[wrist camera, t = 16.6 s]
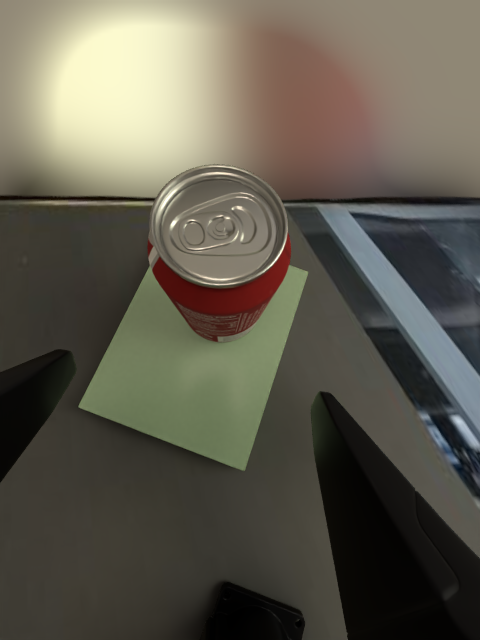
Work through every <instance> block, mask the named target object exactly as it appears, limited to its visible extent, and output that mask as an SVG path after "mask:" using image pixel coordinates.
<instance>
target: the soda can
mask: <svg viewBox="0 0 480 640" xmlns="http://www.w3.org/2000/svg"><path fill="white" fill-rule="evenodd" d="M290 257H291V244H290V238H289V234H288V220H287V214H286V211H285V208H284V205H283V203H282V201H281V199H280V198H279V196H278V195H277V193H276V192H275V191H274V190H273V188H272V187H271V186H270V185H269V184H268V183H266V182H265V181H264V180H263V179H261V178H260V177H258V176H257V175H255V174H254V173H251V172H249V171H247V170H245V169H242V168H239V167H235V166H230V165H219V164H213V165H204V166H199V167H195V168H192V169H189V170H187V171H185V172H183V173H181V174H179V175H177V176H176V177H174V178H173V179H172V180H170V181H169V182H168V183H167V184H166V185H165V186H164V187H163V188H162V190H161V191H160V193H159V194H158V196H157V197H156V199H155V201H154V203H153V206H152V209H151V214H150V233H149V238H148V258H149V263H150V267H151V269H152V272H153V274H154V276H155V278H156V280H157V282H158V283H159V285H160V286H161V287H162V289H163V290H164V292H165V293H166V294H167V296H168V297H169V299H170V300H171V301H172V303H173V304H174V305H175V307H176V308H177V310H178V311H179V312H180V314H181V315H182V316H183V318H184V319H185V321H186V322H187V323H188V325H189V326H190V327H191V329H192V330H193V331H194V332H195V333H197V334H198V335H199V336H201V337H203V338H204V339H207V340H210V341H213V342H230V341H234V340H237V339H239V338H241V337H243V336H244V335H246V334H247V333H248V332H249V331H250V330H251V329H252V328H253V327H254V326H255V324H256V323H257V321H258V319H259V318H260V316H261V315H262V313H263V312H264V310H265V308H266V307H267V305H268V304H269V302H270V301H271V299H272V297H273V296H274V294H275V293H276V291H277V290H278V288H279V286H280V285H281V283H282V282H283V280H284V278H285V276H286V273H287V271H288V267H289V264H290Z"/></svg>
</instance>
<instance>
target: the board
mask: <svg viewBox="0 0 480 640" xmlns="http://www.w3.org/2000/svg"><path fill="white" fill-rule="evenodd" d="M307 275H308V272H307V271H304V270H301V269H298V268H296V267H293V266H290V265H289V267H288V271H287V273H286V276H285V278H284V280H283V282H282V283H281V285H280V286H279V288H278V290H277V291H276V293H275V294H274V296H273V297H272V299H271V301H270V302H269V304H268V305H267V307H266V308H265V310H264V312H263V313H262V315H261V316H260V318H259V319H258V321H257V323H256V324H255V326H254V327H253V328H252V329H251V330H250V331H249V332H248V333H247V334H246V335H244V336H243V337H241V338H239V339H237V340H234V341H230V342H213V341H210V340H207V339H204V338H203V337H201V336H199V335H198V334H197V333H195V332H194V331H193V330H192V329H191V327H190V326H189V325H188V323H187V322H186V321H185V319H184V318H183V316H182V315H181V314H180V312H179V311H178V310H177V308H176V307H175V305H174V304H173V303H172V301H171V300H170V299H169V297H168V296H167V294H166V293H165V292H164V290H163V289H162V287H161V286H160V285H159V283H158V282H157V280H156V278H155V276H154V274H153V272H152V269H151V267H150V266H149V268H148V270H147V272H146V274H145V276H144V278H143V280H142V282H141V284H140V286H139V288H138V290H137V292H136V294H135V296H134V298H133V300H132V302H131V304H130V306H129V308H128V310H127V312H126V314H125V315H124V317H123V319H122V321H121V323H120V325H119V327H118V329H117V331H116V333H115V335H114V337H113V339H112V341H111V343H110V345H109V347H108V349H107V351H106V353H105V355H104V357H103V359H102V361H101V363H100V365H99V367H98V369H97V371H96V373H95V374H94V376H93V378H92V380H91V382H90V384H89V386H88V388H87V390H86V392H85V394H84V396H83V398H82V400H81V402H80V404H79V406H78V408H81V409H84V410H86V411H89V412H91V413H94V414H97V415H99V416H102V417H104V418H107V419H109V420H112V421H115V422H117V423H120V424H122V425H125V426H128V427H130V428H133V429H135V430H138V431H141V432H143V433H146V434H148V435H151V436H154V437H156V438H159V439H161V440H164V441H167V442H169V443H172V444H174V445H177V446H179V447H182V448H185V449H187V450H190V451H192V452H195V453H198V454H200V455H203V456H205V457H208V458H211V459H213V460H216V461H218V462H221V463H224V464H226V465H229V466H231V467H234V468H237V469H239V470H242V471H245V468H246V465H247V462H248V458H249V455H250V452H251V449H252V446H253V443H254V440H255V437H256V434H257V430H258V427H259V424H260V421H261V418H262V415H263V412H264V409H265V405H266V402H267V399H268V396H269V393H270V390H271V387H272V384H273V381H274V377H275V374H276V371H277V368H278V365H279V362H280V359H281V356H282V353H283V349H284V346H285V343H286V340H287V337H288V334H289V331H290V328H291V324H292V321H293V318H294V315H295V312H296V309H297V306H298V303H299V300H300V296H301V293H302V290H303V287H304V284H305V281H306V278H307Z"/></svg>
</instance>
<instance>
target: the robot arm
mask: <svg viewBox="0 0 480 640" xmlns="http://www.w3.org/2000/svg"><path fill="white" fill-rule="evenodd" d="M75 373H76V364H75V360H74V357H73V354H72V352H71V351H68V350H61V349H58V350H54V351H52V352H50V353H47V354H45V355H42V356H40V357H37V358H35V359H32V360H30V361H27V362H25V363H22V364H20V365H18V366H15V367H13V368H10V369H8V370H5V371H3V372H0V482H1V481H2V480H3V478H4V477H5V476H6V474H7V473H8V472H9V470H10V469H11V468H12V466H13V465H14V464H15V462H16V461H17V459H18V458H19V457H20V455H21V454H22V453H23V451H24V450H25V449H26V447H27V446H28V445H29V443H30V442H31V441H32V439H33V438H34V437H35V435H36V434H37V432H38V431H39V430H40V428H41V427H42V426H43V424H44V423H45V422H46V420H47V419H48V417H49V416H50V415H51V413H52V412H53V410H54V409H55V407H56V405H57V404H58V402H59V400H60V399H61V397H62V395H63V394H64V392H65V390H66V389H67V387H68V385H69V384H70V382H71V380H72V379H73V377H74V375H75ZM311 421H312V435H313V447H314V456H315V462H316V467H317V473H318V478H319V484H320V489H321V494H322V500H323V505H324V511H325V516H326V522H327V527H328V533H329V538H330V543H331V549H332V554H333V560H334V565H335V571H336V576H337V582H338V587H339V592H340V598H341V603H342V609H343V614H344V620H345V625H346V630H347V633H348V635H347V637H348V640H480V558H479V557H478V556H477V555H476V554H475V553H474V552H473V551H472V550H471V549H470V548H469V547H468V546H467V545H466V544H465V543H464V542H463V541H462V540H461V538H460V537H459V536H458V535H457V534H456V533H455V532H454V531H453V530H452V529H451V528H450V527H449V526H448V525H447V524H446V523H445V521H444V520H443V519H442V518H441V517H440V516H439V515H438V514H437V513H436V512H435V510H434V509H433V508H432V507H431V506H430V505H429V504H428V503H427V502H426V500H425V499H424V498H423V497H422V496H421V495H420V494H419V492H417V491H415V488H414V487H413V486H412V485H411V484H410V482H409V481H408V480H407V479H406V478H405V477H404V476H403V474H402V473H401V472H400V471H399V470H398V469H397V468H396V467H395V465H394V464H393V463H392V462H391V461H390V460H389V459H388V457H387V456H386V455H385V454H384V453H383V452H382V451H381V450H380V448H379V447H378V446H377V445H376V444H375V443H374V442H373V440H372V439H371V438H370V437H369V436H368V435H367V434H366V432H365V431H364V430H363V429H362V428H361V427H360V426H359V425H358V423H357V422H356V421H355V420H354V419H353V418H352V417H351V415H350V414H349V413H348V412H347V411H346V410H345V409H344V408H343V406H342V405H341V404H340V403H339V402H338V401H337V400H336V398H335V397H334V396H333V395H332V394H331V393H328V392H322V391H320V392H318V393H317V395H316V397H315V399H314V401H313V403H312V406H311ZM226 591H229V592H230V593H229V594H228V595H226V594H225V592H226ZM297 619H300V620H299V621H298V622H295V621H296V620H297ZM304 627H305V621H304V617H303V614H302V613H301V611H300V610H298V609H295V608H293V607H290V606H288V605H285V604H283V603H280V602H278V601H275V600H272V599H270V598H267V597H265V596H262V595H260V594H257V593H255V592H252V591H250V590H247V589H245V588H242V587H239V586H237V585H234V584H232V583H229V582H226V583H224V584H223V585H222V587H221V589H220V593H219V596H218V599H217V602H216V606H215V609H214V612H213V615H212V617H209V618H208V619H207V620H206V623H205V626H204V629H203V632H202V635H201V638H200V640H302V635H303V631H304Z"/></svg>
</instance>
